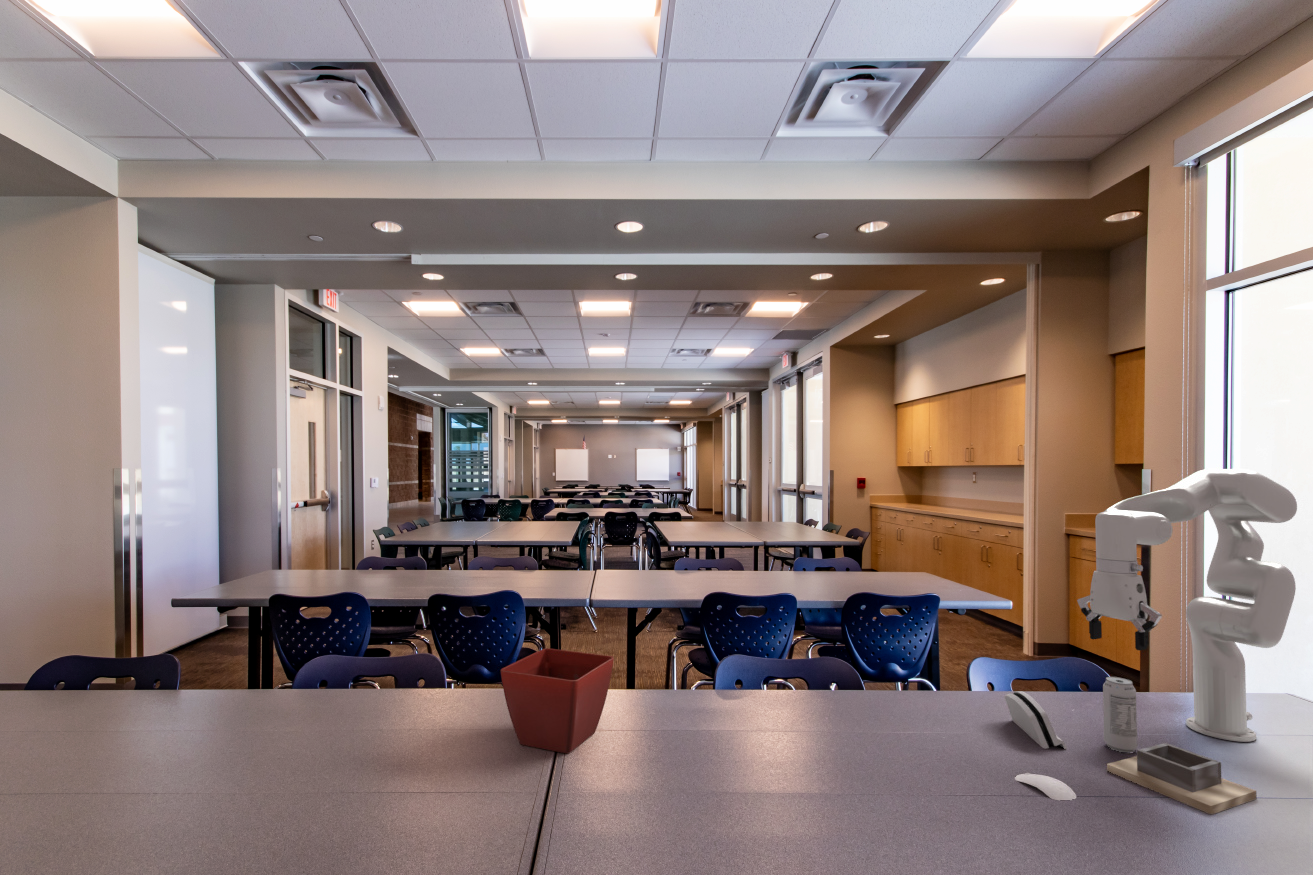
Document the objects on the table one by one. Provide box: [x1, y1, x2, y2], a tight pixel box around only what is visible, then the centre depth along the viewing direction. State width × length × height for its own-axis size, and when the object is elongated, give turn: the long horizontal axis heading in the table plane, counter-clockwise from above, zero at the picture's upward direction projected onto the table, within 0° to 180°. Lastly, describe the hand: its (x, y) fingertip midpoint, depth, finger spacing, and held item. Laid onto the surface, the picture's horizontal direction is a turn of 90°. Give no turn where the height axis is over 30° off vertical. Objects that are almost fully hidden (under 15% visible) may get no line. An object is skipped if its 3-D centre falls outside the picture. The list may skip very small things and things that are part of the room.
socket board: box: [1106, 742, 1257, 816], centre depth 127 cm, size 15×18×6 cm
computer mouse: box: [1014, 772, 1077, 801], centre depth 126 cm, size 7×12×2 cm, turn 21°
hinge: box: [1004, 690, 1067, 750], centre depth 152 cm, size 17×5×10 cm, turn 173°
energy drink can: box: [1102, 676, 1138, 754], centre depth 144 cm, size 6×6×15 cm
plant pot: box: [500, 648, 614, 754], centre depth 145 cm, size 19×19×17 cm
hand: (1118, 643), depth 145 cm, fingers open, 9 cm apart
